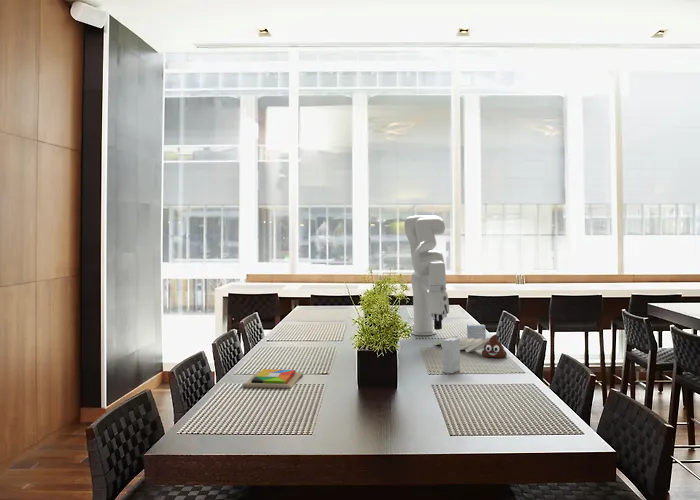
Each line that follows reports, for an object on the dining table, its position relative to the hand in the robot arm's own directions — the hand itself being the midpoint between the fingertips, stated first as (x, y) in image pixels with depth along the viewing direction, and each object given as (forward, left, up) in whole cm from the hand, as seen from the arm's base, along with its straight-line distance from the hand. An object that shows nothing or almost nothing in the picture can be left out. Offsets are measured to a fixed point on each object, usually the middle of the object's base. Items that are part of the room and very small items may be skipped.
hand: (438, 329), depth 267 cm
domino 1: (-1, 0, -7) cm, 7 cm away
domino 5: (+19, 0, -7) cm, 21 cm away
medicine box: (+10, +14, -8) cm, 19 cm away
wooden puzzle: (+9, -88, -8) cm, 89 cm away
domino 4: (+15, 0, -7) cm, 16 cm away
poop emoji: (+32, +1, -8) cm, 33 cm away
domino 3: (+10, 0, -7) cm, 12 cm away
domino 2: (+4, 0, -7) cm, 8 cm away
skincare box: (+39, -30, -7) cm, 50 cm away
